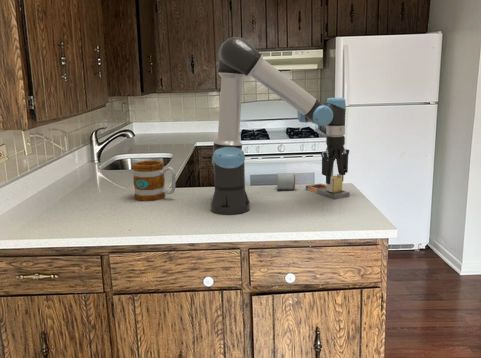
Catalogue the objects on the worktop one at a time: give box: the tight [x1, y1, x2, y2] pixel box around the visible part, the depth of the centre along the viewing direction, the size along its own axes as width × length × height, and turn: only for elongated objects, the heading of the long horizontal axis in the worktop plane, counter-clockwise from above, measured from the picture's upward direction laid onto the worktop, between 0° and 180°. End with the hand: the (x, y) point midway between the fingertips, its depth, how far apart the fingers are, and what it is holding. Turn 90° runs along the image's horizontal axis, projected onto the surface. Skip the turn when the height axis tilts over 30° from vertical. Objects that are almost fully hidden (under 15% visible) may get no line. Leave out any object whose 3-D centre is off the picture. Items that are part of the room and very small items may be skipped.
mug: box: [131, 160, 176, 202], centre depth 199 cm, size 20×14×15 cm
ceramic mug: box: [276, 172, 296, 191], centre depth 211 cm, size 11×8×8 cm
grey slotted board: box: [305, 183, 351, 200], centre depth 202 cm, size 8×20×2 cm, turn 28°
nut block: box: [327, 175, 343, 194], centre depth 197 cm, size 4×4×8 cm
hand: (334, 190), depth 197 cm, fingers closed on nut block, 4 cm apart
